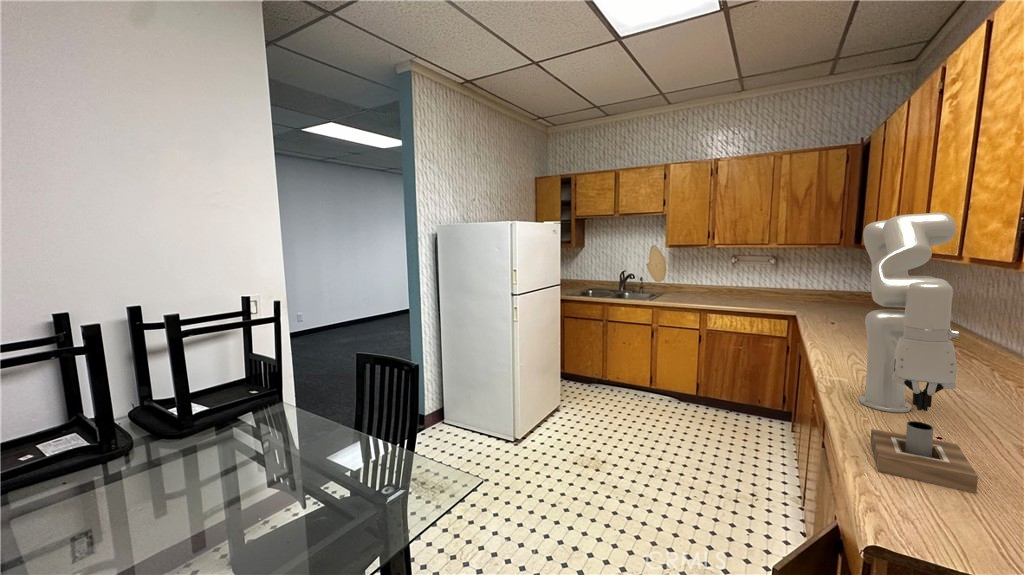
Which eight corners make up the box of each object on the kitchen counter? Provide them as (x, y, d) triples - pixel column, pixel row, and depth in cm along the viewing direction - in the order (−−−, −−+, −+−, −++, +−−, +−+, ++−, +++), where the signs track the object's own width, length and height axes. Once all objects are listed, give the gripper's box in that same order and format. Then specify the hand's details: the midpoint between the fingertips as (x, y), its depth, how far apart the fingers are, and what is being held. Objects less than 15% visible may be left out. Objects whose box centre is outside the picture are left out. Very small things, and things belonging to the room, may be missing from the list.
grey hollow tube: (903, 458, 102) (906, 419, 101) (929, 463, 99) (931, 423, 98) (905, 466, 98) (908, 426, 97) (932, 472, 96) (935, 431, 94)
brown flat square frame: (870, 442, 110) (871, 428, 109) (956, 459, 100) (957, 443, 100) (877, 471, 97) (878, 455, 97) (976, 493, 88) (977, 475, 87)
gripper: (968, 333, 93) (962, 409, 95) (881, 328, 102) (877, 397, 104) (978, 341, 87) (972, 421, 89) (885, 334, 96) (881, 407, 98)
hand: (921, 408), depth 97 cm, fingers closed
